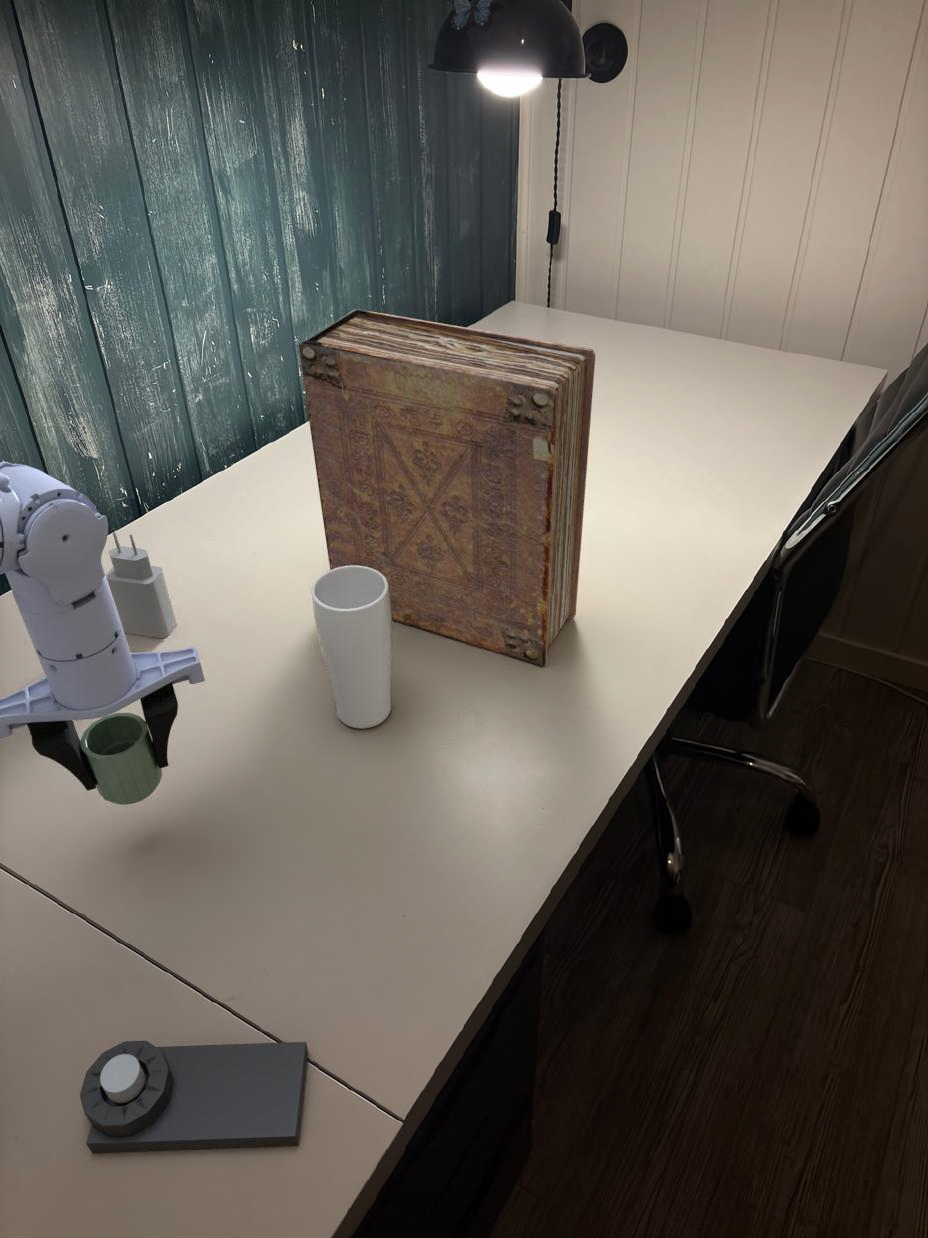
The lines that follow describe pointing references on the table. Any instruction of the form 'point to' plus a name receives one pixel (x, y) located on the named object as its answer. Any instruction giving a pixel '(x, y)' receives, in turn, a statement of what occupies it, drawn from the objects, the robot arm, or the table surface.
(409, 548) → the book
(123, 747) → the green faceted cup
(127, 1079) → the button
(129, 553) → the power adapter
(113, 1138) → the scale
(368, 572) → the drinking glass
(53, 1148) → the table surface
